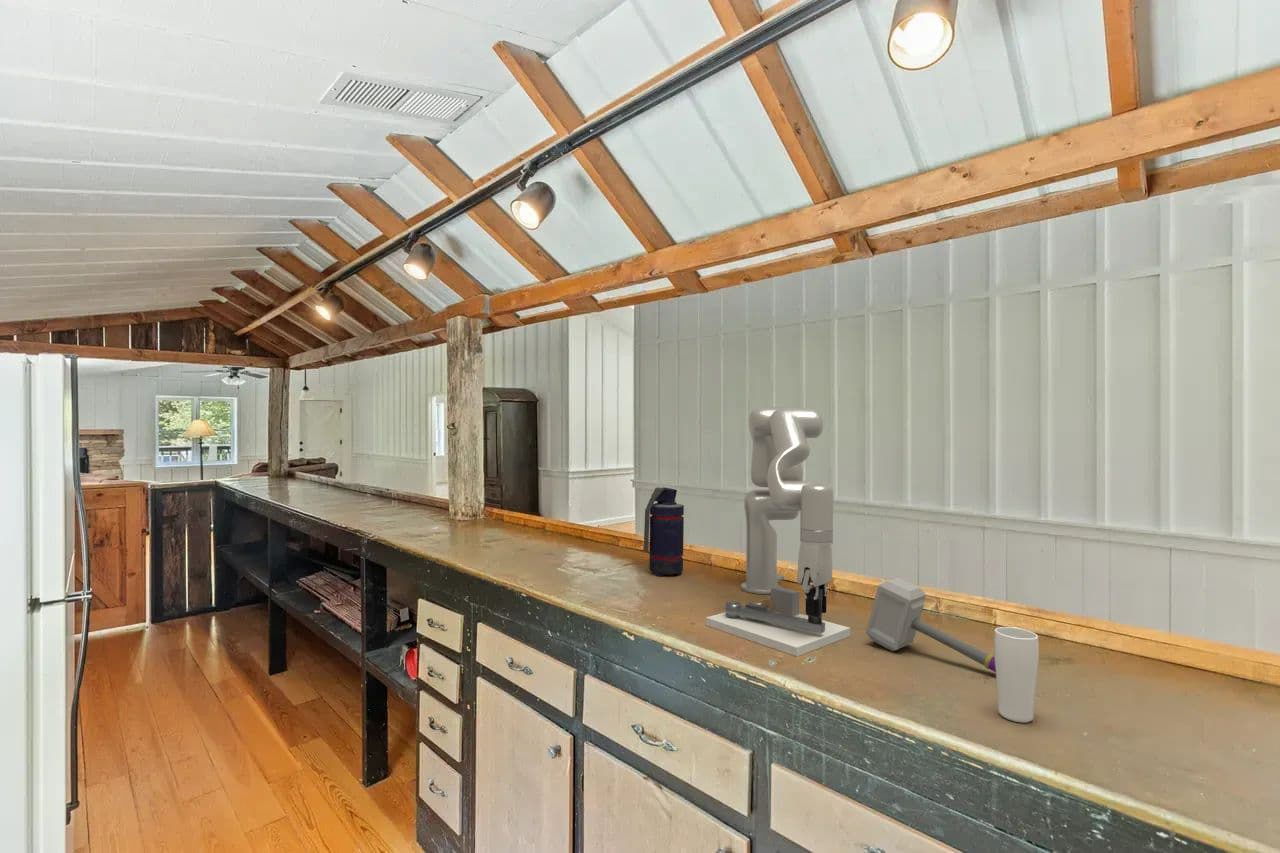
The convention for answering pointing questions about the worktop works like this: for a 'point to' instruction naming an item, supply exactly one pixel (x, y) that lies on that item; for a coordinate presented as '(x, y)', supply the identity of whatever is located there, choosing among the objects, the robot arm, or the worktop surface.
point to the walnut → (769, 605)
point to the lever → (777, 615)
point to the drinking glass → (1016, 672)
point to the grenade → (664, 532)
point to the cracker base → (780, 627)
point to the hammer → (910, 621)
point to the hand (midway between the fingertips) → (816, 612)
